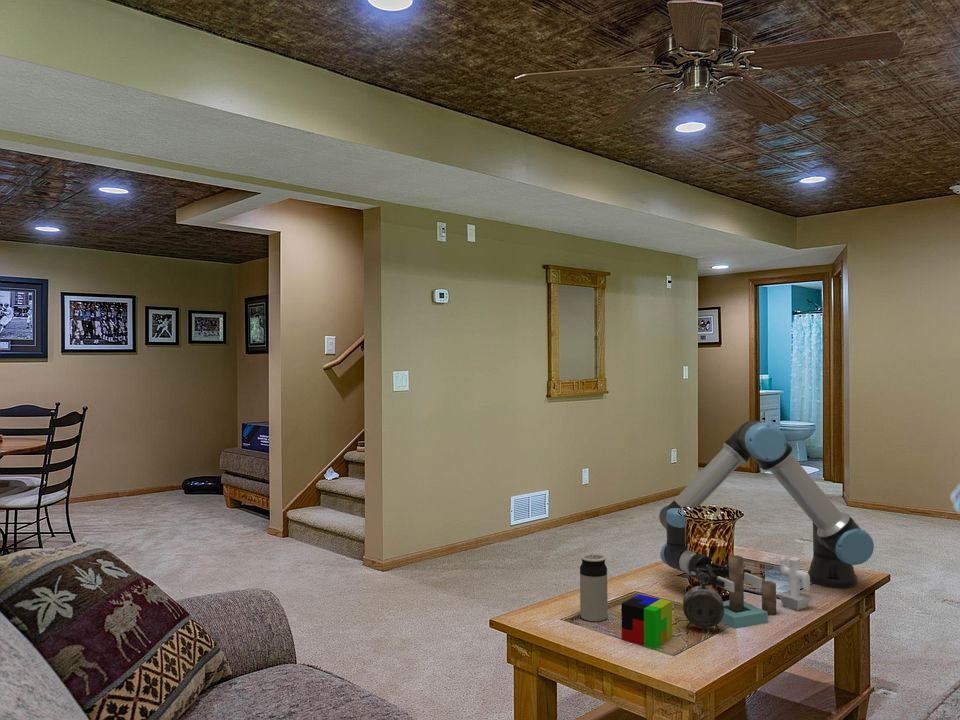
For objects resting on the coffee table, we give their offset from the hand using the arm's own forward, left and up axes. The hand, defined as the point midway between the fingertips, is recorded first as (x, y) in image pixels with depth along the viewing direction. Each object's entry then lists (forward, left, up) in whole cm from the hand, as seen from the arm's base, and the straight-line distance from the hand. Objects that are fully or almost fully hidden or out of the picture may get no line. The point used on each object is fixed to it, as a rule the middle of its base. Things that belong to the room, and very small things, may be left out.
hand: (747, 585), depth 210 cm
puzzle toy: (+33, -1, -11) cm, 35 cm away
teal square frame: (0, -4, -11) cm, 12 cm away
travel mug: (+38, -21, -11) cm, 45 cm away
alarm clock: (+15, 0, -11) cm, 19 cm away
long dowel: (0, -5, -11) cm, 12 cm away
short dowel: (-12, -4, -11) cm, 17 cm away
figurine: (-23, -5, -11) cm, 26 cm away
